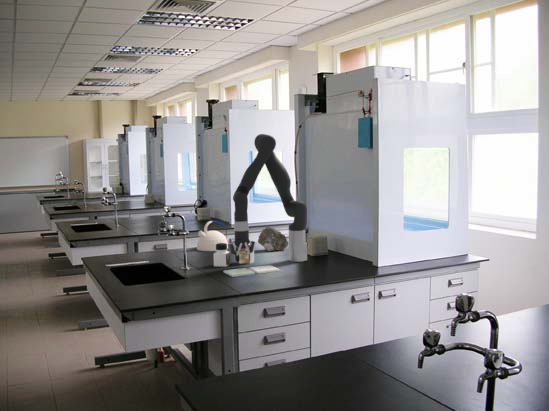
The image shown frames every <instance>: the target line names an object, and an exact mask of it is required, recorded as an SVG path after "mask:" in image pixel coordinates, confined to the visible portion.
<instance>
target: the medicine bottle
mask: <svg viewBox="0 0 549 411" xmlns="http://www.w3.org/2000/svg"><path fill="white" fill-rule="evenodd" d="M230 264H231V251H228V249H227V244H226V243H218V244H216V251H214V253H213V267H221V268H222V267H225V268H226V267H228V266H229V265H230Z"/></svg>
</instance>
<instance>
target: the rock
mask: <svg viewBox="0 0 549 411" xmlns="http://www.w3.org/2000/svg"><path fill="white" fill-rule="evenodd" d="M257 243H258V244H259V245H261V246H262V247H263V248H264V250H266V251H267V252H272V251H273V252H274V251H277V250H279V251H282V250H283V251H284V250H285V249H286V248H287V247H289V240H288V238H287V237H286V235H285V234H282V232H281V231H279V230H277V229H275V228H273V227H271V226H267V227H266V228H264V229H262V230H261V232H260V234H259V236H258V240H257Z"/></svg>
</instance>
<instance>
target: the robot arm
mask: <svg viewBox="0 0 549 411" xmlns="http://www.w3.org/2000/svg"><path fill="white" fill-rule="evenodd" d="M253 142H254V147H255V149H256V150H257V154H256V156H255V158H254V159H253V161H252V162H251V164H250V165H249V166H247V168H246V170H245V171H244V173H243V175H242V178H241V180H240V183H239V184H238V186H237V187H236V190H235V192H234V193H233V195H232V200H233V202H234V214H233V215H234V216H233V219H234V223H233V227H234V233H233V234H234V241H233V242H230V243H229V245H228V247H229V249H230V254H231V255H234V256H235V258H234V259H235V261H236V263H237V262H239V251H240V249H245V251H246V252H247V253H249V260H250V253H251V252H253V249H254V250H255V243H256V242H255V241H254V240H250V233H249V232H250V231H249V230H250V229H249V228H250V227H249V220H248V219H249V218H248V215H249V214H248V207H249V206H248V205H249V204H248V203H249V199H248V196H249V194H250V191H251V190H253V188H254V186H255V184H256V181H257V179H258V176H259V175H260V173H261V171H262V170H263V167H264V166H265V167H266V170H267V172H268V174H269V176H270V178H271V181H272V182H273V185H274V186H275V189H276V191H277V193H278V195H279V197H280V198H279V199H281V202H282V206H283V208H284V211H285V214H286V215H287V216H288V217H290V218H293V222H291V223H290V224H288V260H289V262H292V263H293V262H294V263H296V262H297V263H302V262H305V261H308V243H307V242H306V226H307V222H308V221H307V218H308V208H307V203H305V202H304V201H302V200H301V201H300V200H295V199H294V198H293V195H292V193H291V183H292V182H291V177H290V175H289V173H288V170H287V168H286V167H285V165H284V164H283V163H282V162H281V161H280V159H279V158H278V157H277V155H276V153H275V151H274V150H275V149H276V146H277V141H276V139H275V138H274V136H272V135H269V134H264V133H260V134H258V135H256V137H255V138H254V141H253ZM249 243H250V249H249V248H248V244H249Z"/></svg>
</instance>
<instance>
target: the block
mask: <svg viewBox="0 0 549 411" xmlns="http://www.w3.org/2000/svg"><path fill="white" fill-rule="evenodd" d="M246 263H249V253H247V252H239V262H238V263H237V264H240V265H241V264H246Z"/></svg>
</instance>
